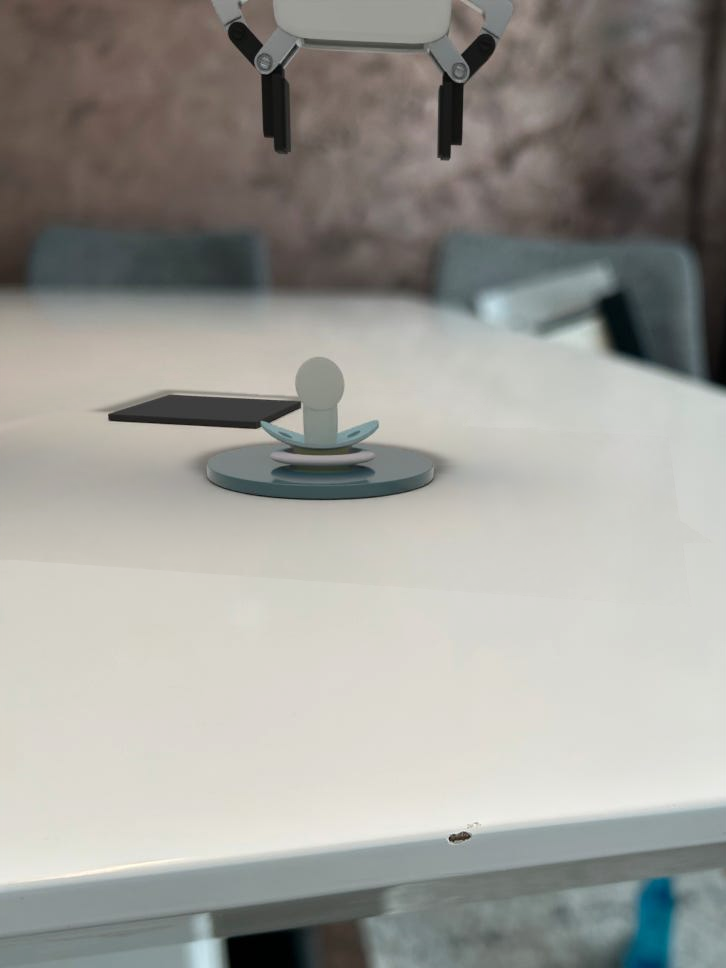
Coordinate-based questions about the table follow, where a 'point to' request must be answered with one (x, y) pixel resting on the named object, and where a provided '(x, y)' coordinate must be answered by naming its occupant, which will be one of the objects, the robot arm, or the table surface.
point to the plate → (319, 474)
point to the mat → (206, 411)
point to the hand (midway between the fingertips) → (363, 155)
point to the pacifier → (321, 422)
